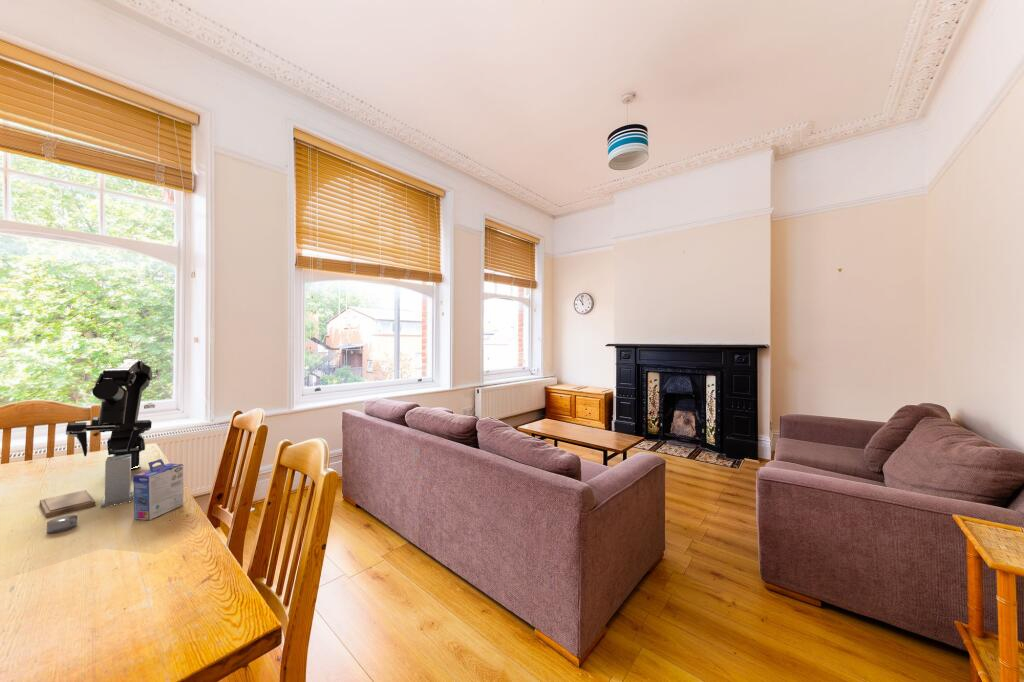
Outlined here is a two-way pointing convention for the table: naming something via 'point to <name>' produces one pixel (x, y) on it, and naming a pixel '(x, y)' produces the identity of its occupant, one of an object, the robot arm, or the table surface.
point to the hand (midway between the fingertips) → (107, 454)
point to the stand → (66, 503)
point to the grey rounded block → (61, 524)
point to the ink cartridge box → (158, 490)
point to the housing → (117, 480)
